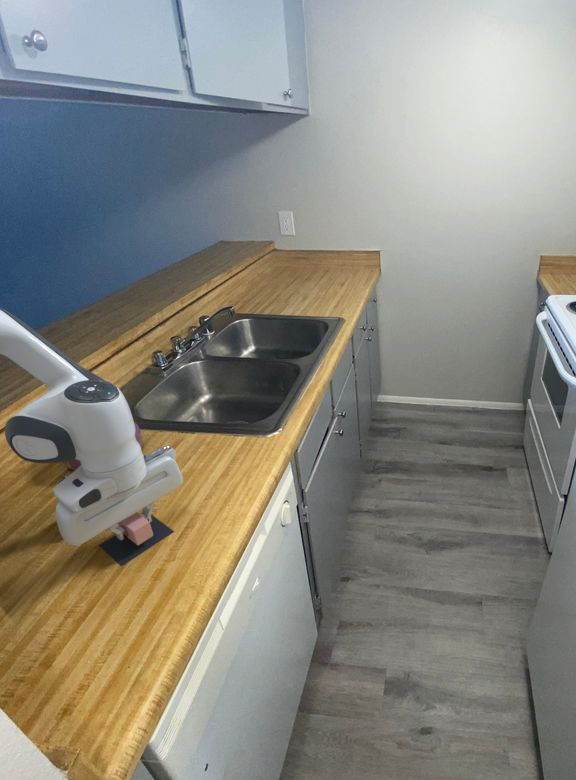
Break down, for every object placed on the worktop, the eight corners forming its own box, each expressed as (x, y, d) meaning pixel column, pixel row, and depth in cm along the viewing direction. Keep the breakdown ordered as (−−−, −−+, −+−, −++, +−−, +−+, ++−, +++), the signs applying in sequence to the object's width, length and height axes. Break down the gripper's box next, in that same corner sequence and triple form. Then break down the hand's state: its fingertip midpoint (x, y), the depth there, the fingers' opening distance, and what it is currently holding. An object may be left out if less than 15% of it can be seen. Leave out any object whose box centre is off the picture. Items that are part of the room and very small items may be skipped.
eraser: (153, 535, 87) (149, 521, 85) (137, 545, 85) (133, 531, 83) (135, 521, 90) (131, 507, 88) (119, 531, 87) (115, 517, 86)
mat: (122, 568, 82) (121, 566, 82) (98, 547, 86) (98, 545, 86) (175, 533, 90) (174, 531, 90) (151, 515, 94) (150, 513, 93)
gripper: (162, 436, 90) (176, 492, 96) (41, 494, 74) (66, 556, 81) (182, 447, 87) (195, 504, 93) (59, 511, 71) (85, 574, 78)
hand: (134, 529), depth 87 cm, fingers closed on eraser, 3 cm apart
